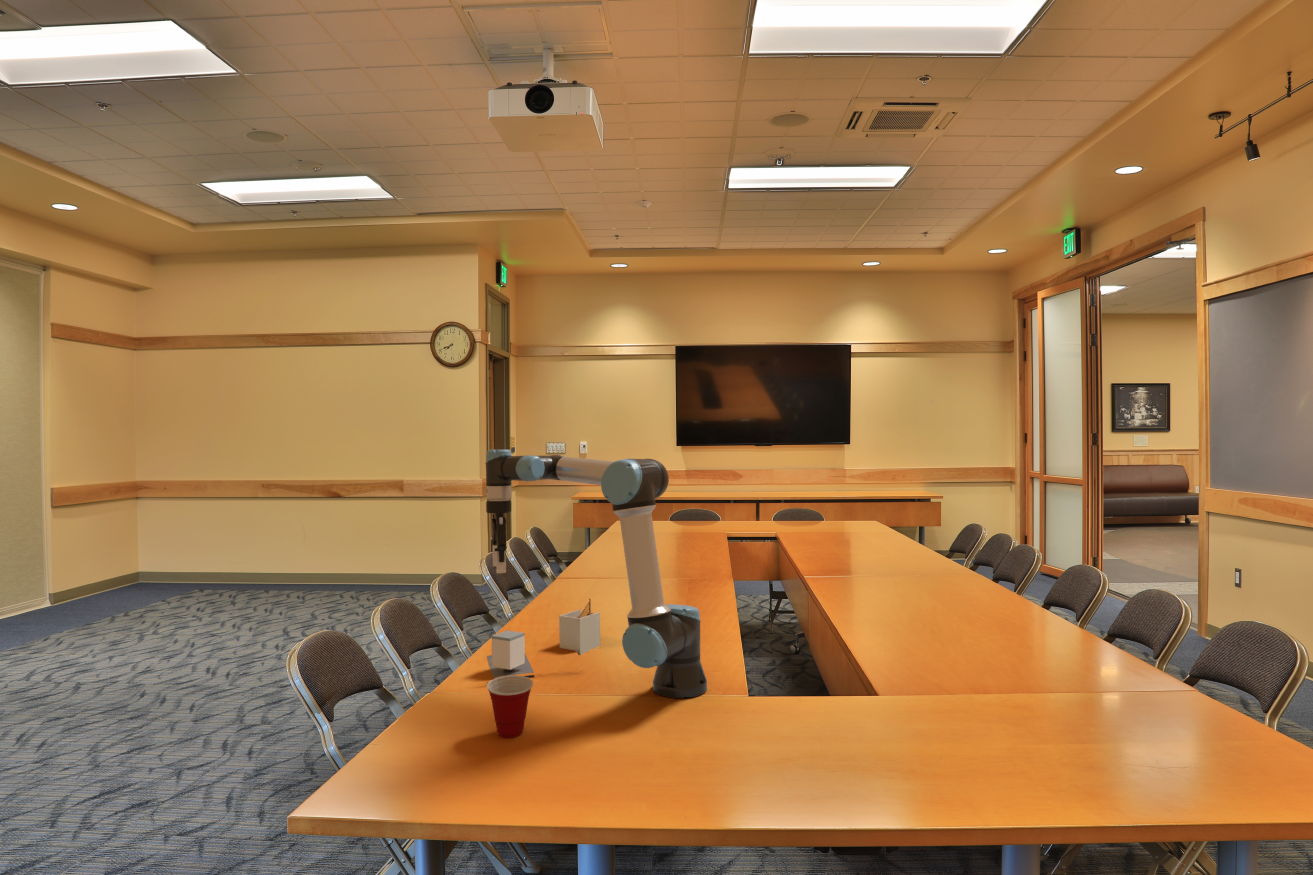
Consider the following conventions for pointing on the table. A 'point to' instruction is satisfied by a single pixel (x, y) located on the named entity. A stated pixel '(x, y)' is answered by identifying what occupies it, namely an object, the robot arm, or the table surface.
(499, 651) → the white block
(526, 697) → the plastic cup
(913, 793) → the table surface
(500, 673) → the post base
